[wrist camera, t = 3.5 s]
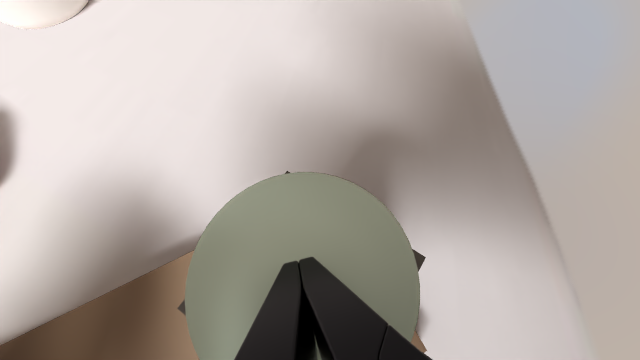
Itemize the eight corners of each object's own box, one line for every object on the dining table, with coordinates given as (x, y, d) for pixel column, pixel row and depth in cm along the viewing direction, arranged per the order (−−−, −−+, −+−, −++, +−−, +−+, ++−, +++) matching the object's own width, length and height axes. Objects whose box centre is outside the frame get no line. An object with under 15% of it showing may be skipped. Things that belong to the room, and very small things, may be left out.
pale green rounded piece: (397, 274, 16) (458, 244, 9) (329, 400, 13) (338, 494, 6) (296, 208, 17) (280, 138, 10) (219, 311, 15) (133, 310, 8)
